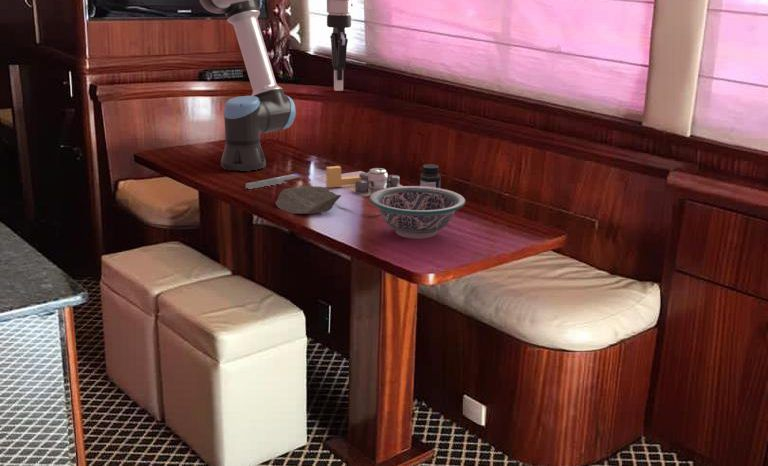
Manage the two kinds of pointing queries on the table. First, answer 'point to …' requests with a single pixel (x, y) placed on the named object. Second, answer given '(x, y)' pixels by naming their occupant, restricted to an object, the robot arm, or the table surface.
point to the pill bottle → (430, 176)
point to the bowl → (417, 209)
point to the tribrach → (371, 181)
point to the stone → (306, 199)
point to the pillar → (271, 181)
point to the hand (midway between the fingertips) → (338, 90)
